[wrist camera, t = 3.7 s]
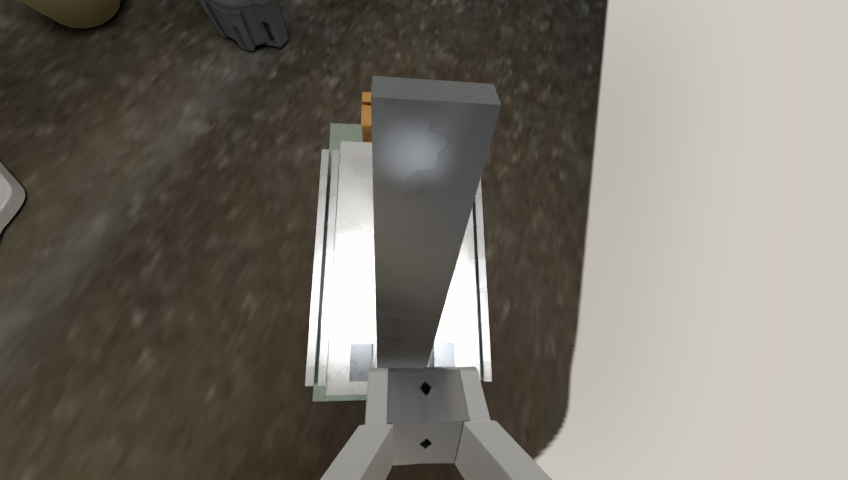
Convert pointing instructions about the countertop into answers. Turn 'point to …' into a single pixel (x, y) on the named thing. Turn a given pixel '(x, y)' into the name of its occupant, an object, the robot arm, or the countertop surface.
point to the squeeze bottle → (76, 11)
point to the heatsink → (355, 278)
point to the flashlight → (248, 21)
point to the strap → (422, 202)
